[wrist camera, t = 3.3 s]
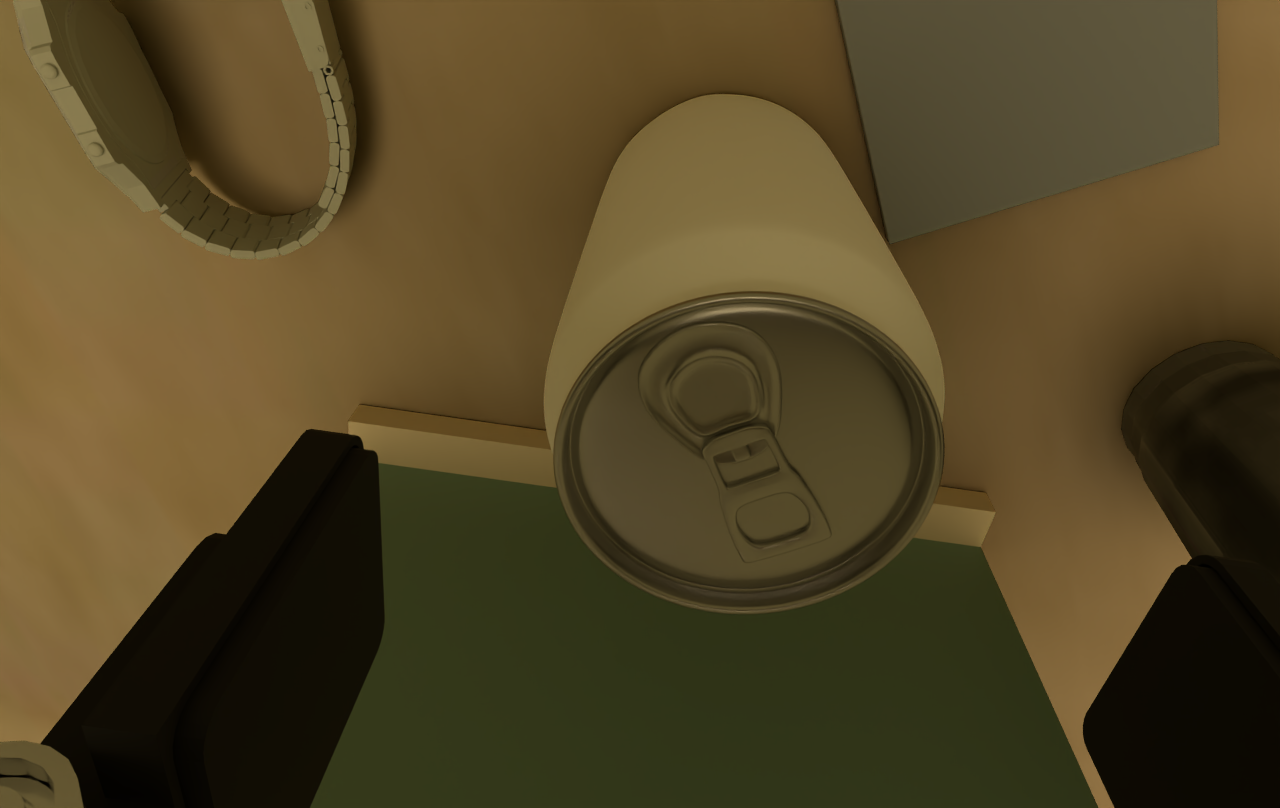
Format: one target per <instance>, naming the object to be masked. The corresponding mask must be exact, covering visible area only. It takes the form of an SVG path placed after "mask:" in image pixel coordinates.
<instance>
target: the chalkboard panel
mask: <svg viewBox="0 0 1280 808" xmlns="http://www.w3.org/2000/svg"><path fill="white" fill-rule="evenodd" d="M348 431H349V434H350V435H357V436H359V437H360V438H361V439H362V442H363V446H364V449H366V450H373V451H375V452H376V453H377V456H378V462H379V486H380V511H381V536H382V561H383V585H384V610H385V623H384V631H383V636H382V640H381V643H380V646H379V649H378V652H377V654H376V656H375V659H374V661H373V663H372V666H371V668H370V670H369V673H368V675H367V677H366V679H365V682H364V684H363V686H362V689H361V691H360V693H359V696H358V698H357V700H356V703H355V705H354V707H353V709H352V712H351V714H350V716H349V719H348V721H347V723H346V726H345V728H344V730H343V733H342V735H341V737H340V740H339V742H338V744H337V746H336V749H335V751H334V753H333V756H332V758H331V760H330V763H329V765H328V767H327V770H326V772H325V774H324V776H323V779H322V781H321V783H320V786H319V788H318V790H317V793H316V795H315V797H314V800H313V802H312V804H311V807H310V808H1098V806H1097V804H1096V801H1095V799H1094V797H1093V795H1092V793H1091V790H1090V788H1089V786H1088V784H1087V782H1086V779H1085V777H1084V775H1083V773H1082V770H1081V768H1080V766H1079V764H1078V762H1077V759H1076V757H1075V755H1074V753H1073V751H1072V748H1071V746H1070V744H1069V742H1068V739H1067V737H1066V735H1065V733H1064V731H1063V728H1062V726H1061V724H1060V722H1059V720H1058V717H1057V715H1056V713H1055V711H1054V708H1053V706H1052V704H1051V702H1050V700H1049V697H1048V695H1047V693H1046V691H1045V689H1044V686H1043V684H1042V682H1041V680H1040V677H1039V675H1038V673H1037V671H1036V669H1035V666H1034V664H1033V662H1032V660H1031V658H1030V655H1029V653H1028V651H1027V649H1026V646H1025V644H1024V642H1023V640H1022V638H1021V635H1020V633H1019V631H1018V629H1017V627H1016V624H1015V622H1014V620H1013V618H1012V615H1011V613H1010V611H1009V609H1008V607H1007V604H1006V602H1005V600H1004V598H1003V596H1002V593H1001V591H1000V589H999V587H998V584H997V582H996V580H995V578H994V576H993V573H992V571H991V569H990V567H989V565H988V562H987V560H986V558H985V556H984V553H983V551H982V549H981V545H982V543H983V541H984V538H985V536H986V534H987V532H988V529H989V527H990V525H991V523H992V520H993V518H994V516H995V514H996V511H995V509H994V507H993V505H992V503H991V501H990V499H989V497H988V495H987V493H984V492H976V491H969V490H962V489H955V488H948V487H941V486H939V489H938V492H937V495H936V498H935V500H934V503H933V505H932V507H931V509H930V511H929V513H928V515H927V517H926V519H925V521H924V522H923V524H922V526H921V527H920V529H919V530H918V532H917V533H916V534H915V536H914V537H913V538H912V540H911V541H910V542H909V543H908V544H907V546H906V547H905V548H904V549H903V550H902V551H901V552H900V553H899V554H898V555H897V556H896V557H895V558H894V559H893V560H892V561H891V562H890V563H888V564H887V565H886V566H885V567H884V568H882V569H881V570H880V571H878V572H877V573H876V574H874V575H873V576H871V577H870V578H868V579H867V580H865V581H864V582H862V583H860V584H859V585H857V586H855V587H853V588H851V589H850V590H848V591H845V592H843V593H841V594H839V595H837V596H835V597H832V598H830V599H827V600H824V601H822V602H819V603H816V604H812V605H809V606H805V607H802V608H797V609H793V610H788V611H782V612H775V613H767V614H750V615H739V614H722V613H713V612H706V611H701V610H696V609H691V608H687V607H683V606H680V605H676V604H673V603H670V602H667V601H665V600H662V599H659V598H657V597H655V596H652V595H650V594H648V593H646V592H644V591H642V590H640V589H638V588H636V587H635V586H633V585H631V584H630V583H628V582H626V581H625V580H623V579H622V578H620V577H619V576H618V575H616V574H615V573H614V572H612V571H611V570H610V569H609V568H607V567H606V566H605V565H604V564H603V563H602V562H601V561H600V560H599V559H598V558H597V557H596V556H595V555H594V554H593V553H592V552H591V551H590V550H589V549H588V548H587V546H586V545H585V544H584V543H583V541H582V540H581V539H580V537H579V536H578V534H577V533H576V531H575V530H574V528H573V526H572V525H571V523H570V521H569V519H568V517H567V515H566V513H565V511H564V508H563V506H562V503H561V500H560V497H559V494H558V490H557V486H556V481H555V475H554V466H553V453H552V450H551V447H550V444H549V440H548V436H547V431H544V430H536V429H529V428H522V427H515V426H508V425H501V424H494V423H487V422H480V421H473V420H466V419H458V418H451V417H444V416H437V415H430V414H423V413H416V412H409V411H402V410H395V409H387V408H380V407H373V406H366V405H359V406H358V407H357V409H356V410H355V412H354V413H353V415H352V416H351V417H350V419H349V420H348Z"/></svg>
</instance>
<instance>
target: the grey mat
mask: <svg viewBox="0 0 1280 808" xmlns="http://www.w3.org/2000/svg"><path fill="white" fill-rule="evenodd" d="M835 3H836V7H837V12H838V16H839V21H840V26H841V30H842V35H843V39H844V44H845V49H846V53H847V58H848V63H849V67H850V72H851V76H852V81H853V86H854V90H855V95H856V99H857V104H858V109H859V113H860V118H861V122H862V127H863V132H864V136H865V141H866V146H867V150H868V155H869V159H870V164H871V169H872V173H873V178H874V182H875V187H876V192H877V196H878V201H879V206H880V210H881V215H882V219H883V224H884V229H885V233H886V238H887V240H888V242H889V244H892V243H895V242H899V241H902V240H905V239H908V238H912V237H915V236H918V235H922V234H925V233H928V232H932V231H935V230H938V229H942V228H945V227H948V226H952V225H955V224H958V223H962V222H965V221H968V220H971V219H975V218H978V217H981V216H985V215H988V214H991V213H995V212H998V211H1001V210H1005V209H1008V208H1011V207H1015V206H1018V205H1021V204H1024V203H1028V202H1031V201H1034V200H1038V199H1041V198H1044V197H1048V196H1051V195H1054V194H1058V193H1061V192H1064V191H1068V190H1071V189H1074V188H1078V187H1081V186H1084V185H1087V184H1091V183H1094V182H1097V181H1101V180H1104V179H1107V178H1111V177H1114V176H1117V175H1121V174H1124V173H1127V172H1131V171H1134V170H1137V169H1140V168H1144V167H1147V166H1150V165H1154V164H1157V163H1160V162H1164V161H1167V160H1170V159H1174V158H1177V157H1180V156H1184V155H1187V154H1190V153H1194V152H1197V151H1200V150H1203V149H1207V148H1210V147H1213V146H1217V145H1219V110H1218V39H1217V0H835Z"/></svg>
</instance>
